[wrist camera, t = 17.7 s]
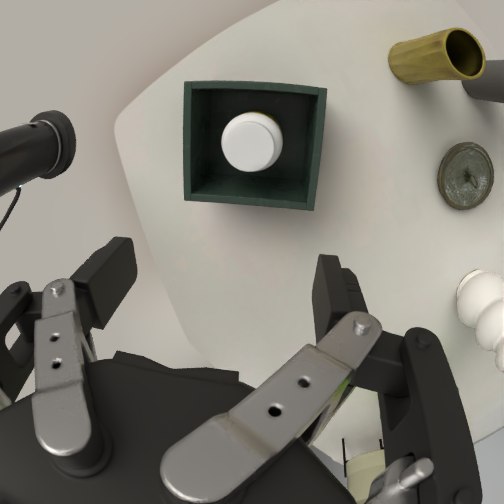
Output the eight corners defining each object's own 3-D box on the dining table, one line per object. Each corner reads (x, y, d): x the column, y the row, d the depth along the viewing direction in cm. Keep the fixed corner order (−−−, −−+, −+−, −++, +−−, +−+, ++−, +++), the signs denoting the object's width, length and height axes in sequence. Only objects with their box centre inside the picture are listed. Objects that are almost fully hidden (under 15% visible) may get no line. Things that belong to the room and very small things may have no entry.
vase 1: (386, 77, 30) (438, 71, 18) (388, 36, 27) (439, 13, 15) (426, 89, 30) (488, 93, 17) (428, 49, 27) (489, 38, 14)
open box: (205, 176, 39) (183, 200, 31) (207, 85, 33) (184, 81, 25) (306, 184, 39) (313, 211, 30) (315, 91, 32) (327, 88, 24)
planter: (340, 428, 69) (345, 501, 49) (395, 417, 66) (408, 488, 46) (342, 447, 76) (346, 509, 56) (390, 437, 72) (399, 498, 52)
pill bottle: (223, 127, 35) (201, 138, 25) (264, 100, 33) (257, 100, 23) (250, 166, 37) (239, 191, 28) (291, 141, 35) (296, 157, 26)
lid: (488, 163, 34) (507, 164, 29) (472, 219, 37) (491, 225, 32) (442, 131, 34) (460, 128, 29) (425, 192, 36) (443, 195, 31)
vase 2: (445, 314, 47) (494, 420, 25) (452, 267, 42) (523, 377, 20) (487, 301, 45) (543, 394, 23) (497, 255, 40) (571, 348, 18)
